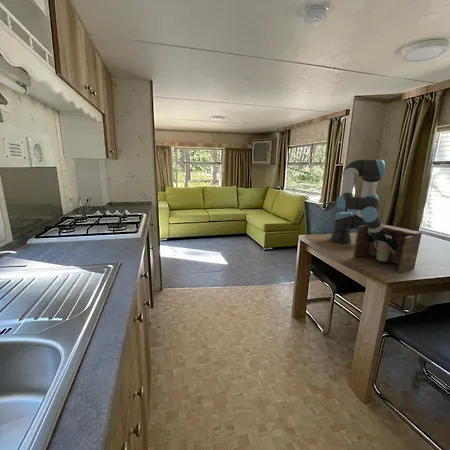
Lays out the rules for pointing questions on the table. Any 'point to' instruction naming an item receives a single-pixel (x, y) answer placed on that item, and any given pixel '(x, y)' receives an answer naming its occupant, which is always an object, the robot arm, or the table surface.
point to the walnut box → (403, 255)
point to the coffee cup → (383, 250)
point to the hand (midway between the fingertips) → (386, 250)
